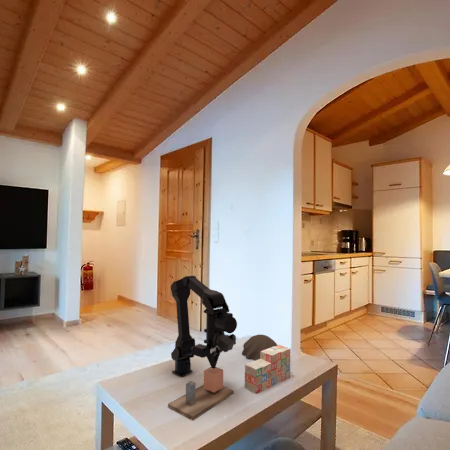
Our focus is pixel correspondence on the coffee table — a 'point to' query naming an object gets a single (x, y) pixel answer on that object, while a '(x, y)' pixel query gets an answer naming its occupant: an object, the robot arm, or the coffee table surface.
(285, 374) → the stack of blocks
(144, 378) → the coffee table surface
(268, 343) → the decorative dome
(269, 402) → the coffee table surface
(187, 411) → the board
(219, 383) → the salmon orange block
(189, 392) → the steel post
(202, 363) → the coffee table surface
